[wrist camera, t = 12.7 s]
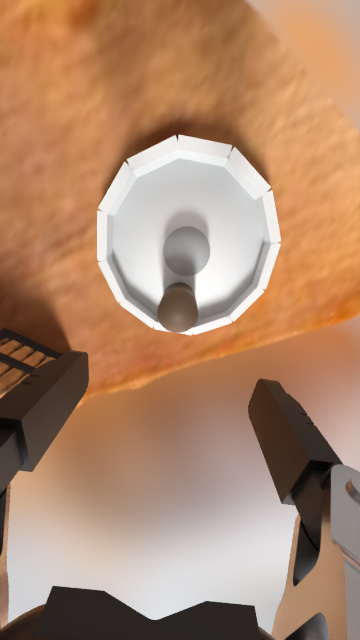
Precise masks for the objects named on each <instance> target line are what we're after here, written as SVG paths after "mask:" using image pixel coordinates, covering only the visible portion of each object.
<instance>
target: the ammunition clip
mask: <svg viewBox="0 0 360 640" xmlns="http://www.w3.org/2000/svg"><path fill="white" fill-rule="evenodd" d="M61 356H62V354H59V353H57V352H55V351H53V350H51V349H49V348H46V347H44V346H42V345H40V344H38V343H36V342H33V341H31V340H29V339H27V338H25V337H23V336H20V335H18V334H16V333H14V332H12V331H10V330H7V329H2V330H0V395H1V394H3V393H5V392H6V391H7V390H8V391H7V392H6V393H5V395H6V394H7V393H8V392H9V391H10V390H11V389H13V388H14V387H15V386H16V385H17V384H20V383H21V381H22V380H23V379H25V378H26V377H27V376H29V375H30V373H32V372H33V371H34V370H35V369H36V368H38V367H39V366H40V365H42V364H44V363H46V362H48V361H51V360H53V359H55V360H57V359H58V358H59V357H61ZM12 386H13V387H12Z"/></svg>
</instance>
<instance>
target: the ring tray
mask: <svg viewBox="0 0 360 640" xmlns="http://www.w3.org/2000/svg"><path fill="white" fill-rule="evenodd" d="M231 148H232V145H229V144H224V143H219V142H214V141H209V140H204V139H199V138H194V137H189V136H184V135H179V137H178V141H177V138H176V135H174V136H172V137H170V138H168V139H166V140H164V141H162V142H160V143H158V144H156V145H154V146H152V147H150V148H148V149H146V150H144V151H142V152H140V153H138V154H136V155H134V156H132V157H130V158H128V159H127V161H128V164H129V165H128V164H127V163H126V162H125V161H124V163H123V165H122V167H121V168H120V170H119V172H118V174H117V176H116V177H115V179H114V181H113V183H112V184H111V186H110V188H109V190H108V191H107V193H106V195H105V197H104V198H103V200H102V202H101V204H100V205H99V207H98V208H99V209H100V210H101V211H102V212H101V211H97V260H98V261H101V262H99V263H98V264H99V266H100V268H101V270H102V272H103V274H104V276H105V278H106V280H107V282H108V284H109V286H110V288H111V290H112V292H113V294H114V296H115V298H116V300H117V302H121V301H122V302H121V303H120V305H121V306H122V307H124V308H125V309H126V310H128V311H129V312H131V313H132V314H133V315H135V316H136V317H137V318H139V319H140V320H141V321H143V322H144V323H146V324H147V325H148V326H150V327H151V328H153V327H154V329H156V330H163V331H168V330H166V329H165V328H164V327H163V326H162V325H161V324H160V322H159V320H158V317H157V309H158V306H159V304H160V301H161V299H162V297H163V295H164V292H165V290H166V289H167V287H168V286H170V285H171V284H173V283H177V282H182V283H185V284H187V285H189V286H190V287H191V288H192V289H193V291H194V294H195V298H196V303H197V308H198V319H197V322H196V323H195V325H194V326H193V327H192V328H191V329H189V330H188V331H185V332H181V334H187V335H192V334H193V333H194V335H196V334H199V333H202V332H205V331H209V330H212V329H215V328H218V327H221V326H224V325H227V324H230V323H232V321H231V320H233V321H235V320H236V319H237V318H238V317H239V316H240V315H241V314H242V313H243V312H244V311H245V310H246V309H247V308H248V307H249V306H250V305H251V304H252V303H253V302H254V301H255V300H256V299H257V298H258V297H259V296H260V295H261V294H262V293H263V292H264V291H263V290H262V289H266V287H267V284H268V281H269V278H270V275H271V272H272V269H273V266H274V263H275V260H276V257H277V254H278V251H279V248H280V245H281V244H277V243H278V242H280V241H281V237H280V231H279V226H278V220H277V214H276V208H275V202H274V197H273V191H272V190H271V191H269V192H267V191H268V190H269V189H270V188H271V186H270V185H269V184H268V183H267V182H266V181H265V180H264V179H263V178H262V176H261V175H260V174H259V173H258V172H257V171H256V170H255V169H254V168H253V166H252V165H251V164H250V163H249V162H248V161H247V160H246V159H245V157H244V156H243V155H242V154H241V153H240V152H239V151H238V150H237V149H236V147H234V149H233V150H232V151H231ZM154 325H155V326H154ZM169 332H171V331H169Z"/></svg>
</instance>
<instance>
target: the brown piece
mask: <svg viewBox="0 0 360 640" xmlns="http://www.w3.org/2000/svg"><path fill="white" fill-rule="evenodd" d="M157 317H158V320H159V322H160V324H161V325H162V326H163V327H164V328H165V329H166V330H168V331H171V332H174V333H181V332H185V331H188V330H189V329H191V328H192V327H193V326H194V325H195V323H196V322H197V319H198V308H197V303H196V298H195V294H194V291H193V289H192V288H191V287H190V286H189V285H187V284H185V283H182V282H177V283H173V284H171V285H170V286H168V287H167V289H166V290H165V292H164V295H163V297H162V299H161V301H160V304H159V306H158V309H157Z"/></svg>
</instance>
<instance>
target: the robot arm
mask: <svg viewBox="0 0 360 640" xmlns="http://www.w3.org/2000/svg"><path fill="white" fill-rule="evenodd" d="M88 382H89V368H88V354H87V353H86V352H80V351H74V350H68V351H66V352H65V353H64V354H63V355H62V356H61V357H59V358H58V359H57V360H55V359H53V360H51V361H48V362H46V363H44V364H42V365H40V366H39V367H38V368H36V369H35V370H34V371H33V372H32V373H30V375H29V376H27V377H26V378H25V379H23V380H22V381H21V383H20V384H17V385H16V386H15V387H14V388H13V389H11V390H10V391H9V392H8V393H7V394H6V395H4V396H3V397H2V398H1V399H0V640H360V472H358V471H357V470H355V469H353V468H351V467H349V466H346V465H343V463H342V462H341V461H340V459H339V458H338V456H337V455H336V453H335V452H334V451H333V449H332V448H331V447H330V445H329V444H328V442H327V441H326V440H325V438H324V437H323V435H322V434H321V433H320V431H319V430H318V428H317V427H316V426H314V423H313V422H312V421H311V419H310V417H308V416H307V413H306V412H305V410H304V409H303V408H302V407H301V405H300V404H299V403H298V402H297V401H296V400H295V399H294V398H293V397H291V396H290V395H289V394H287V393H286V392H285V390H284V389H283V388H282V386H281V385H280V383H279V382H278V381H274V380H267V379H259V380H258V382H257V384H256V387H255V389H254V392H253V394H252V397H251V400H250V402H249V406H248V413H249V417H250V420H251V423H252V426H253V428H254V431H255V434H256V436H257V439H258V441H259V444H260V447H261V450H262V452H263V455H264V458H265V460H266V463H267V465H268V468H269V471H270V474H271V476H272V479H273V481H274V484H275V487H276V490H277V492H278V495H279V498H280V500H281V503H282V504H288V505H295V506H296V508H297V510H298V513H299V514H298V516H297V517H296V520H295V527H294V533H293V540H292V547H291V554H290V560H289V567H288V574H287V581H286V586H285V590H284V594H283V597H282V599H281V602H280V604H279V607H278V609H277V613H276V616H275V620H274V624H273V629H272V635H270V634H268V633H267V632H266V631H265V630H263V629H262V628H261V627H259V626H258V623H257V618H256V612H255V607H254V606H251V605H241V604H230V603H221V602H210V601H205V602H203V603H200V604H198V605H195V606H192V607H190V608H188V609H185V610H182V611H180V612H177V613H174V614H172V615H169V616H167V617H164V618H162V619H159V620H151V619H149V618H147V617H145V616H143V615H142V614H140V613H139V612H137V611H135V610H134V609H132V608H131V607H129V606H127V605H126V604H124V603H122V602H121V601H119V600H118V599H116V598H115V597H113V596H111V595H110V594H108V593H106V592H105V591H100V590H99V591H98V590H90V589H80V588H69V587H59V586H53V587H52V589H51V592H50V595H49V597H48V600H47V602H46V604H44V605H41V606H38V607H36V608H34V609H32V610H30V611H28V612H26V613H24V614H22V615H21V616H19V617H18V618H16V619H14V620H13V621H11V622H10V623H8V604H9V585H8V574H7V540H8V522H9V505H10V489H11V486H10V482H11V480H12V479H13V478H14V476H15V475H16V473H17V472H18V471H19V470H20V471H29V472H32V471H33V470H34V468H35V467H36V465H37V464H38V463H39V461H40V460H41V458H42V456H43V455H44V453H45V452H46V450H47V449H48V448H49V446H50V445H51V443H52V442H53V440H54V439H55V437H56V435H57V434H58V433H59V431H60V430H61V428H62V427H63V425H64V423H65V422H66V420H67V419H68V417H69V416H70V414H71V413H72V412H73V410H74V409H75V407H76V406H77V404H78V403H79V401H80V400H81V398H82V397H83V395H84V394H85V392H86V389H87V387H88Z"/></svg>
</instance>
